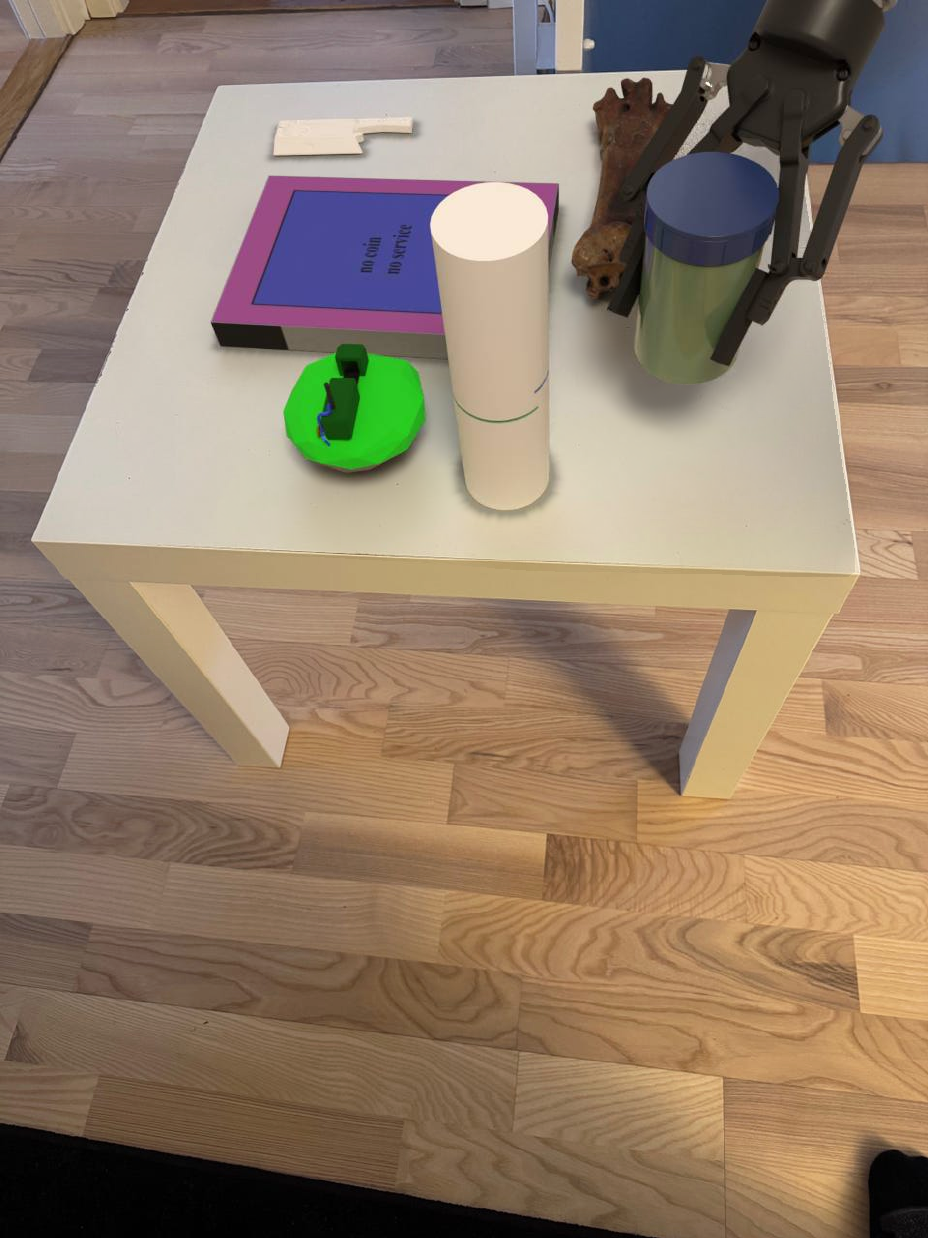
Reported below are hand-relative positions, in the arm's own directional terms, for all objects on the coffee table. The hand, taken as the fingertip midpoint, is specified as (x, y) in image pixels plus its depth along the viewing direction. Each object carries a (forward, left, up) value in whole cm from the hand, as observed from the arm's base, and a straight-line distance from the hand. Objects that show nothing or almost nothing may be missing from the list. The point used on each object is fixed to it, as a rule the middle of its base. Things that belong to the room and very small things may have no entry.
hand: (667, 337), depth 67 cm
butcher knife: (+51, -16, -12) cm, 55 cm away
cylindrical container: (+8, +10, -12) cm, 18 cm away
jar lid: (0, -3, +9) cm, 10 cm away
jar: (0, -3, -4) cm, 5 cm away
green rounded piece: (+20, +14, -12) cm, 28 cm away
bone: (+19, -24, -12) cm, 33 cm away
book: (+32, -3, -12) cm, 34 cm away
